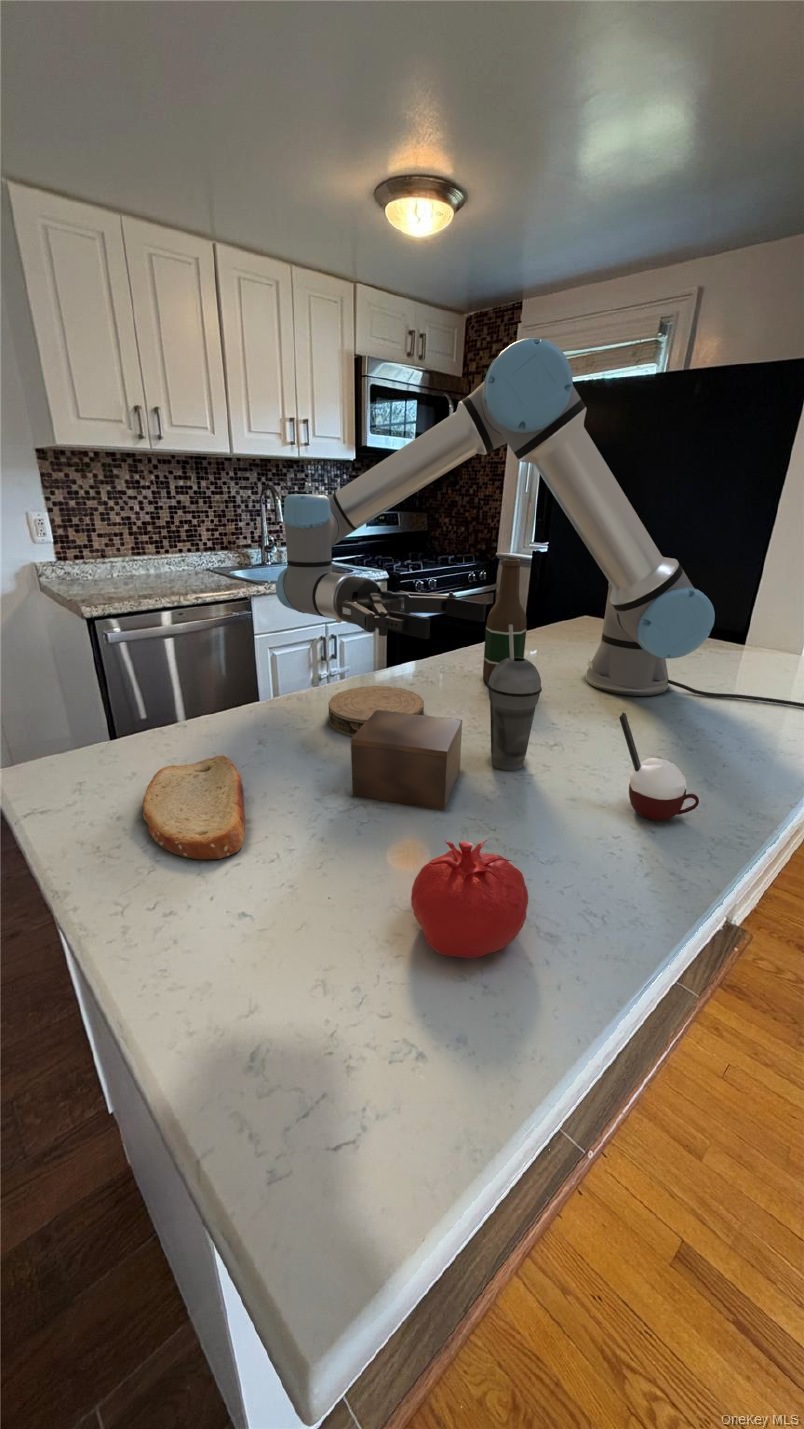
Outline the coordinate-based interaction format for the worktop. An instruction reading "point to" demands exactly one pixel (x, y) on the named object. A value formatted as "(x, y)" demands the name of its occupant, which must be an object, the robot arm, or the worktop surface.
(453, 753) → the riser
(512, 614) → the beer bottle
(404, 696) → the tan flat ringed disc
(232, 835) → the bread slice
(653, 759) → the cocoa
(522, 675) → the beverage cup
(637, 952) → the worktop surface
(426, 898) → the pomegranate
